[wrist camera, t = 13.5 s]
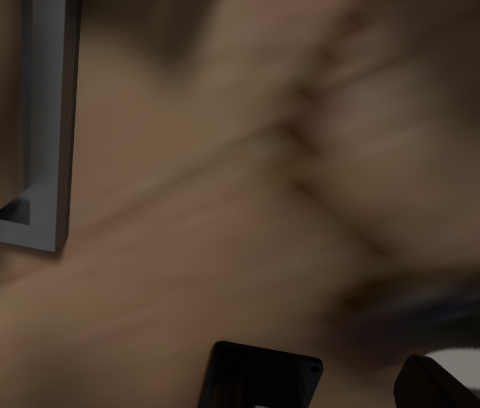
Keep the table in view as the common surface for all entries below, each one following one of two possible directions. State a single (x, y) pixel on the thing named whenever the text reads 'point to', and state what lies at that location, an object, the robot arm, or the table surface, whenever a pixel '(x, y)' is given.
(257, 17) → the table surface
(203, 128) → the table surface
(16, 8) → the bar
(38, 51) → the keeper cradle
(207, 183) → the table surface
